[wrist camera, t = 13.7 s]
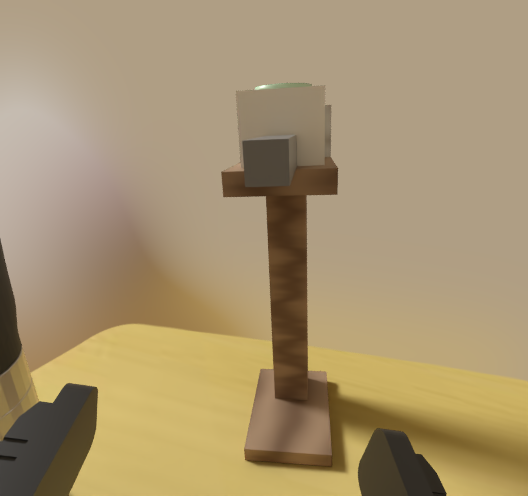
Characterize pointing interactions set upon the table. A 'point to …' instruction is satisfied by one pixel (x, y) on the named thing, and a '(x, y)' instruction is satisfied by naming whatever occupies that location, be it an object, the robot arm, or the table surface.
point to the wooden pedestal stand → (289, 323)
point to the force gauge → (280, 131)
